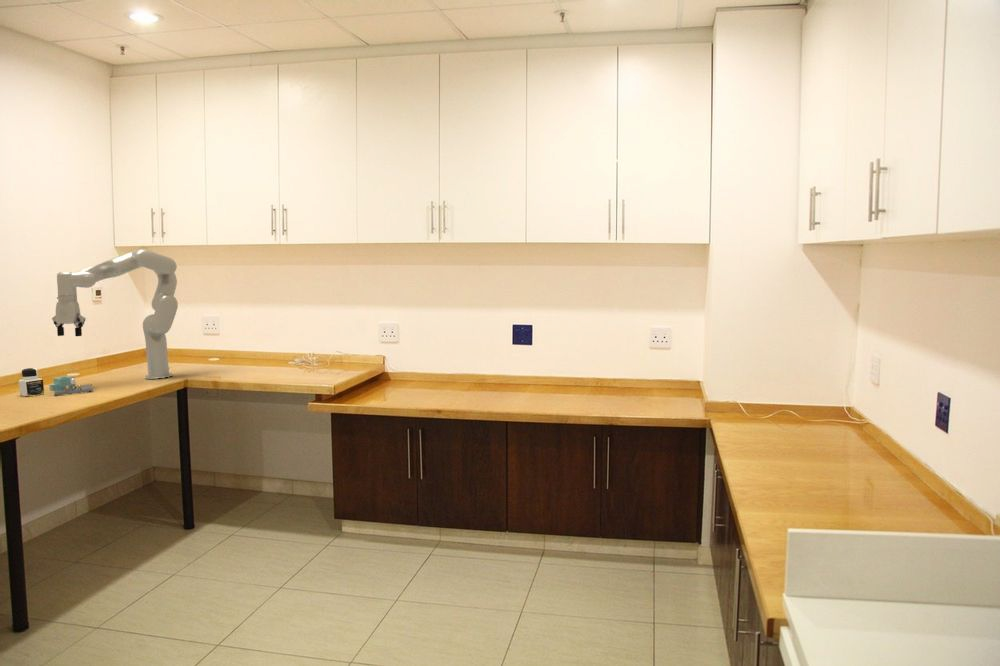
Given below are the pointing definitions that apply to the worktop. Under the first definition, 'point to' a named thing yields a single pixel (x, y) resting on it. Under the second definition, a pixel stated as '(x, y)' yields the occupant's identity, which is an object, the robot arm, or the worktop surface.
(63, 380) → the teal hollow square block
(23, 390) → the medicine bottle
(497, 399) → the worktop surface
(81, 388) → the post base
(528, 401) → the worktop surface
